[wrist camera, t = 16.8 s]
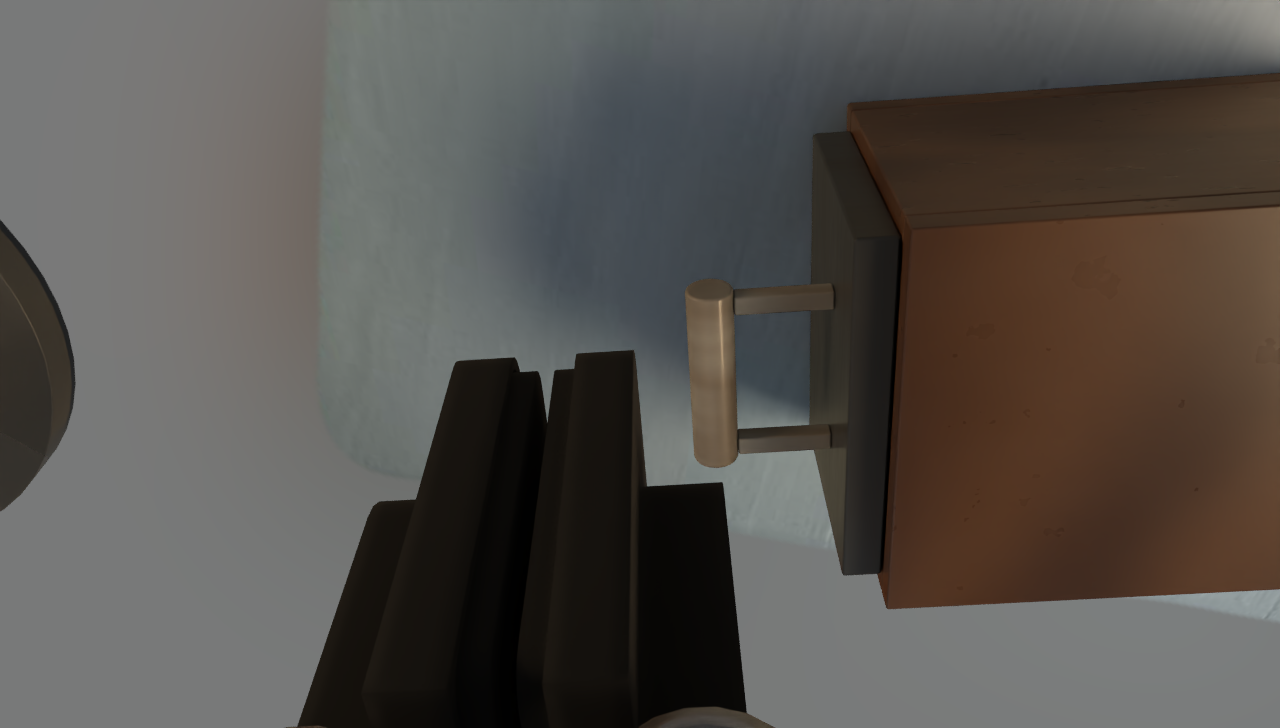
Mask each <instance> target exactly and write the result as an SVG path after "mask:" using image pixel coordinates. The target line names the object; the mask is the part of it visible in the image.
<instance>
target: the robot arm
mask: <svg viewBox="0 0 1280 728" xmlns="http://www.w3.org/2000/svg"><path fill="white" fill-rule="evenodd" d="M735 605H736V604H735V595H734V585H733V575H732V565H731V555H730V545H729V535H728V526H727V516H726V506H725V497H724V488H723V483H722V482H720V483H702V484H684V485H666V486H649V487H647V483H646V471H645V460H644V449H643V437H642V426H641V414H640V403H639V392H638V380H637V369H636V359H635V353H634V350H628V351H612V352H595V353H579V354H576V359H575V368H574V369H565V370H555V372H554V378H553V385H552V393H551V400H550V408H549V415H548V423H547V418H546V411H545V404H544V397H543V390H542V384H541V378H540V375H539V373H538V371H532V372H520V370H519V366H518V363H517V360H516V359H515V357H514V358H497V359H481V360H465V361H457V362H456V363H455V365H454V367H453V371H452V374H451V378H450V381H449V385H448V388H447V392H446V396H445V399H444V403H443V406H442V410H441V413H440V417H439V420H438V424H437V427H436V431H435V434H434V438H433V441H432V445H431V448H430V452H429V455H428V459H427V462H426V466H425V469H424V473H423V477H422V480H421V484H420V487H419V491H418V494H417V498H416V500H400V501H381V502H378V503H377V504H376V505H374V506H373V508H372V510H371V512H370V514H369V516H368V518H367V521H366V525H365V527H364V530H363V533H362V536H361V539H360V542H359V545H358V548H357V551H356V554H355V557H354V560H353V563H352V566H351V569H350V572H349V575H348V578H347V581H346V584H345V587H344V590H343V593H342V596H341V599H340V602H339V604H338V607H337V611H336V613H335V617H334V619H333V622H332V625H331V628H330V631H329V634H328V637H327V640H326V643H325V646H324V649H323V652H322V655H321V658H320V661H319V664H318V667H317V670H316V673H315V676H314V679H313V682H312V685H311V688H310V691H309V694H308V697H307V700H306V703H305V705H304V708H303V712H302V714H301V717H300V720H299V723H298V726H297V727H286V728H775V727H773V726H771V725H769V724H767V723H765V722H763V721H761V720H759V719H757V718H755V717H753V716H751V715H749V714H747V711H746V702H745V692H744V683H743V672H742V662H741V653H740V643H739V633H738V623H737V614H736V606H735Z"/></svg>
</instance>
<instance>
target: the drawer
mask: <svg viewBox="0 0 1280 728" xmlns="http://www.w3.org/2000/svg"><path fill="white" fill-rule="evenodd" d="M902 256H903V242H902V240H901V236H900V234H899V232H898V230H897V227H896V225H895V223H894V221H893V219H892V217H891V215H890V213H889V211H888V209H887V207H886V205H885V202H884V200H883V198H882V196H881V194H880V192H879V190H878V188H877V186H876V184H875V182H874V180H873V178H872V175H871V173H870V171H869V169H868V167H867V165H866V163H865V161H864V159H863V157H862V155H861V153H860V150H859V148H858V146H857V144H856V142H855V140H854V138H853V136H852V134H851V132H849V131H846V132H831V133H817V134H814V135H813V169H812V252H811V284H810V285H794V286H779V287H763V288H747V289H735V290H733V288H732V286H731V285H730V284H729V283H728V282H726V281H723V280H719V279H703V280H699V281H695V282H693V283H691V284H690V285H689V286H688V287H687V288H686V291H685V302H686V319H687V337H688V354H689V371H690V389H691V406H692V424H693V441H694V456H695V458H696V460H697V461H698V462H699V463H700V464H702V465H704V466H707V467H712V468H719V467H725V466H728V465H730V464H731V463H733V462H734V461H735V460H736V458H737V456H738V450H739V453H740V454H747V453H765V452H782V451H800V450H814V452H815V456H816V461H817V465H818V470H819V474H820V478H821V483H822V487H823V491H824V496H825V500H826V505H827V509H828V513H829V518H830V522H831V527H832V531H833V535H834V540H835V544H836V548H837V553H838V557H839V561H840V565H841V570H842V573H843V575H863V574H879V573H881V567H882V550H883V534H884V517H885V500H886V484H887V467H888V450H889V442H890V445H891V436H892V420H893V403H894V387H895V371H896V354H897V338H898V322H899V305H900V289H901V273H902ZM797 311H811V335H810V418H809V425H801V426H784V427H766V428H749V429H738V425H737V393H736V360H735V328H734V313H735V315H749V314H765V313H781V312H797Z"/></svg>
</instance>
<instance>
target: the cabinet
mask: <svg viewBox="0 0 1280 728" xmlns="http://www.w3.org/2000/svg"><path fill="white" fill-rule="evenodd" d="M847 131H849V132H851V134H852V136H853V138H854V140H855V142H856V144H857V146H858V148H859V150H860V153H861V155H862V157H863V159H864V161H865V163H866V165H867V167H868V169H869V171H870V173H871V175H872V178H873V180H874V182H875V184H876V186H877V188H878V190H879V192H880V194H881V196H882V198H883V200H884V202H885V205H886V207H887V209H888V211H889V213H890V215H891V217H892V219H893V221H894V223H895V225H896V227H897V230H898V232H899V234H900V236H901V240H902V242H903V256H902V273H901V289H900V305H899V322H898V338H897V354H896V371H895V387H894V403H893V420H892V436H891V445H890V442H889V450H888V467H887V484H886V500H885V517H884V534H883V550H882V567H881V573H879V574H877V575H878V578H879V582H880V586H881V589H882V593H883V597H884V601H885V605H886V608H887V609H901V608H921V607H938V606H939V607H941V606H959V605H979V604H1000V603H1017V602H1018V603H1019V602H1038V601H1058V600H1078V599H1096V598H1117V597H1137V596H1156V595H1176V594H1196V593H1215V592H1235V591H1254V590H1274V589H1280V73H1271V74H1257V75H1243V76H1228V77H1214V78H1200V79H1185V80H1171V81H1157V82H1142V83H1128V84H1114V85H1100V86H1085V87H1071V88H1057V89H1042V90H1028V91H1014V92H999V93H985V94H971V95H957V96H942V97H928V98H914V99H899V100H885V101H871V102H856V103H849V104H848V106H847Z"/></svg>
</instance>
